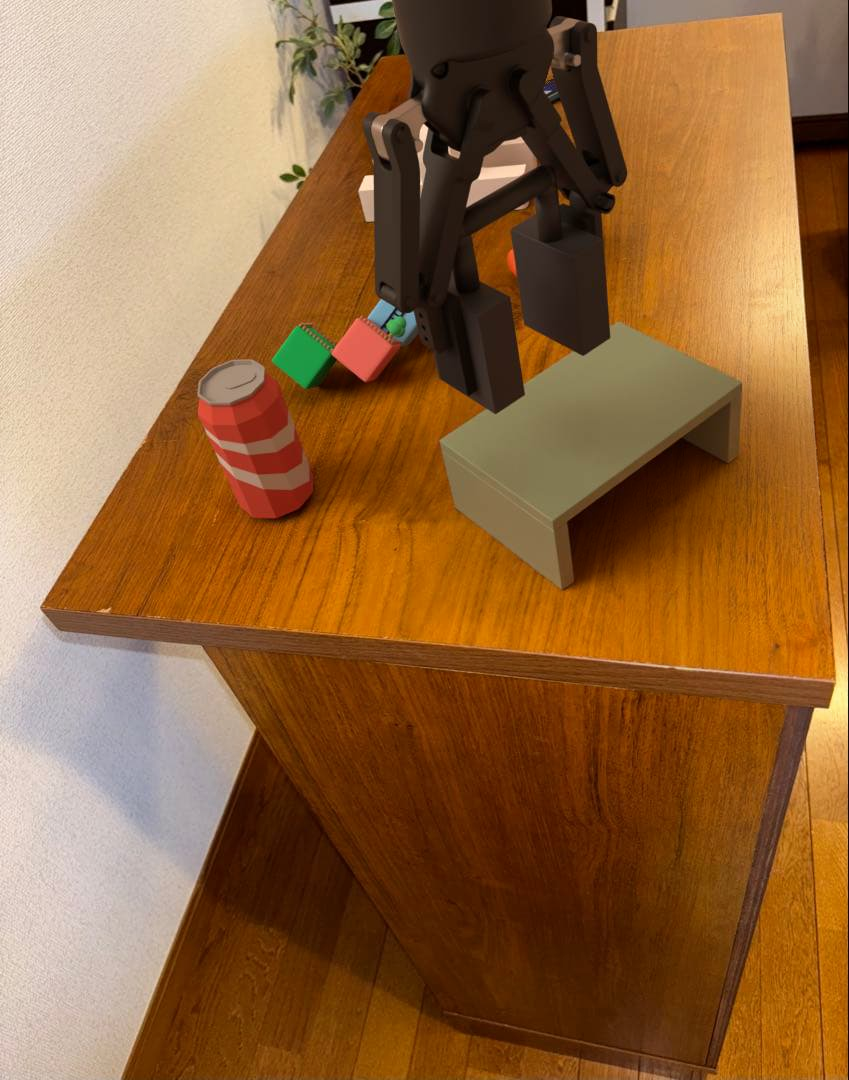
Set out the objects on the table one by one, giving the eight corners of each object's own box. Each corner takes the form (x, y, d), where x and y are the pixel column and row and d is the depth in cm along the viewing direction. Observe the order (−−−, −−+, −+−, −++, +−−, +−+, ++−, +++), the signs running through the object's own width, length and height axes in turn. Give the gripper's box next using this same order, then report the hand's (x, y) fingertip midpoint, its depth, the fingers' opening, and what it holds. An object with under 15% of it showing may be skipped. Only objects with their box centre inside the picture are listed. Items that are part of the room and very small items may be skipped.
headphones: (610, 338, 62) (598, 166, 54) (495, 415, 59) (464, 245, 51) (550, 308, 65) (530, 142, 57) (439, 378, 62) (401, 214, 54)
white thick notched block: (366, 222, 109) (341, 124, 101) (384, 178, 115) (362, 83, 107) (527, 208, 104) (514, 105, 96) (537, 163, 110) (526, 63, 102)
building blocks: (360, 410, 93) (437, 309, 90) (338, 418, 86) (422, 307, 82) (295, 358, 93) (370, 254, 90) (268, 361, 85) (349, 247, 82)
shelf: (738, 455, 73) (742, 381, 68) (562, 590, 68) (552, 521, 63) (622, 391, 81) (618, 320, 76) (454, 508, 75) (438, 440, 70)
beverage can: (327, 503, 78) (283, 385, 70) (252, 535, 77) (199, 419, 69) (303, 460, 83) (260, 344, 74) (233, 491, 82) (180, 376, 73)
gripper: (582, -136, 51) (607, 245, 67) (223, 25, 44) (346, 408, 60) (692, -128, 47) (692, 281, 62) (310, 54, 40) (419, 462, 55)
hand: (522, 343), depth 61 cm, fingers closed on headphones, 10 cm apart
